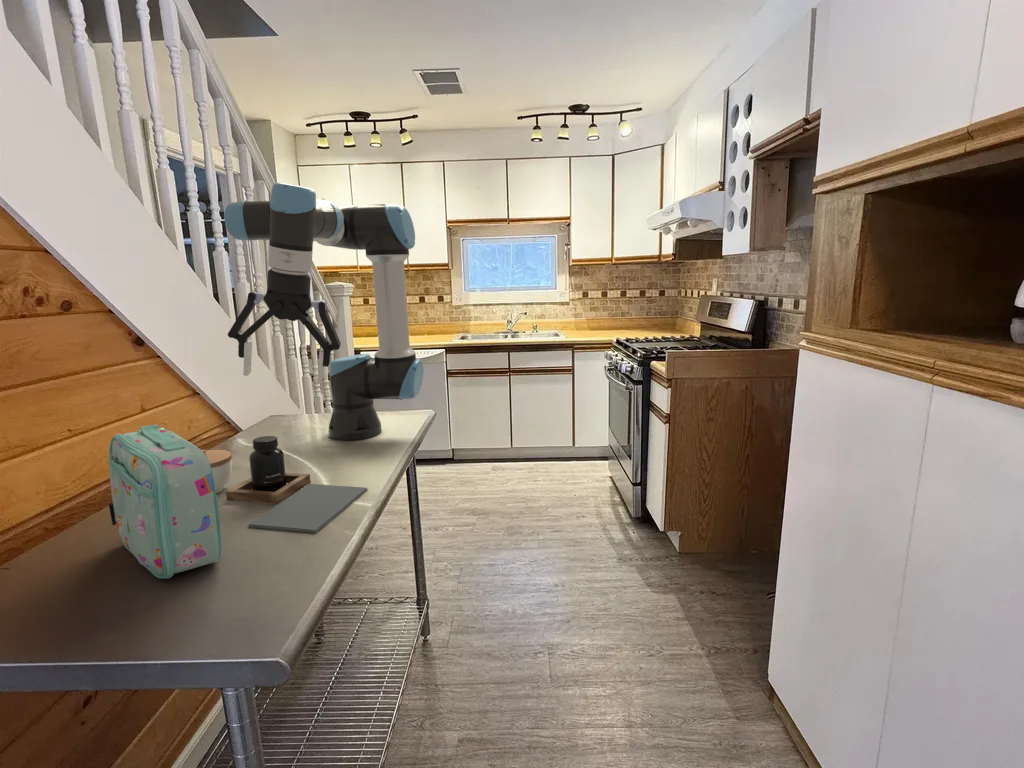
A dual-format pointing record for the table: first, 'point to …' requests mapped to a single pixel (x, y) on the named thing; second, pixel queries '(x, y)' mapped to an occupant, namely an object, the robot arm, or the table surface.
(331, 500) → the slate mat
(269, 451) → the supplement bottle
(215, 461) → the lidded jar
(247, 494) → the walnut collar
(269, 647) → the table surface
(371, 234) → the robot arm
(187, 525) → the lunch box
